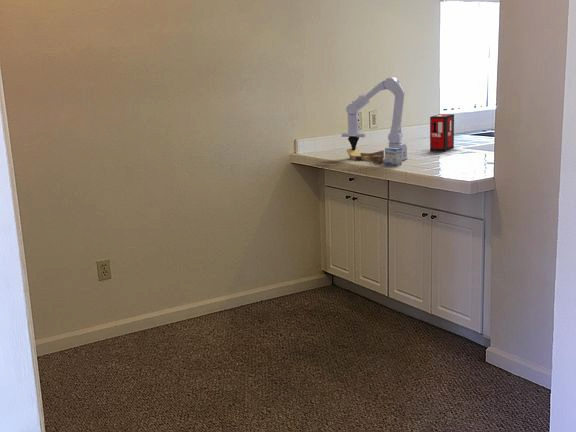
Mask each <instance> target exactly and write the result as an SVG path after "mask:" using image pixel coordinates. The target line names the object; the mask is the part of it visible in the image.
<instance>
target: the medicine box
mask: <svg viewBox="0 0 576 432" xmlns="http://www.w3.org/2000/svg"><path fill="white" fill-rule="evenodd" d="M402 164H403V160H402V149H401V148H389V147H386V148H384V165H385V166H394V165H395V166H396V167H398V166H402Z"/></svg>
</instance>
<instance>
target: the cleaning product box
mask: <svg viewBox="0 0 576 432" xmlns="http://www.w3.org/2000/svg"><path fill="white" fill-rule="evenodd" d="M454 148H455V114H454V113H453V114H451V113H444V114H443V113H441V114H440V113H439V114H436V115H433V116H432V115H431V116H430V117H429V151H430V152H442V153H443V152H447V151H450V150H451V149H454Z"/></svg>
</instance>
